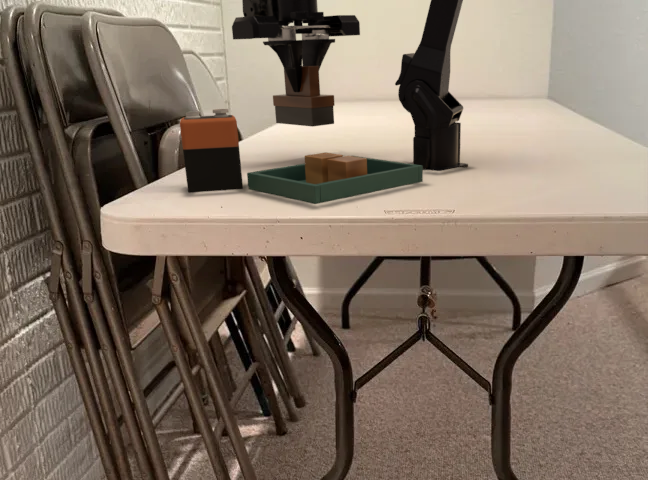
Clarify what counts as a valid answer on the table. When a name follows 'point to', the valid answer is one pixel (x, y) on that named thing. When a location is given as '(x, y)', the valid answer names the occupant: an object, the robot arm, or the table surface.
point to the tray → (295, 187)
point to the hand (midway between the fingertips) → (302, 91)
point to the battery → (211, 151)
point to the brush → (304, 102)
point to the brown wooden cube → (318, 167)
